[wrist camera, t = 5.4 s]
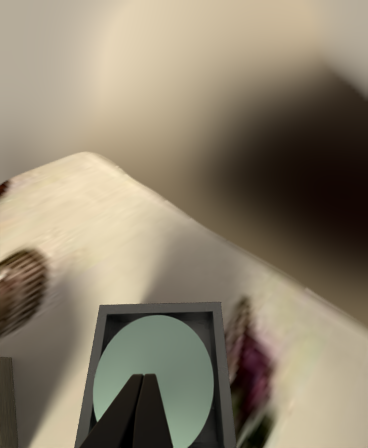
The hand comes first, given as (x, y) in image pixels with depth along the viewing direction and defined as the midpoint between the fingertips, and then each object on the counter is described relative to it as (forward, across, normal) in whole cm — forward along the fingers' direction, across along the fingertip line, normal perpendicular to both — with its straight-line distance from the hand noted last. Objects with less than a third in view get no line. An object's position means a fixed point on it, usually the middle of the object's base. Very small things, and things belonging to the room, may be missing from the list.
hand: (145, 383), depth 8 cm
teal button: (+3, 0, +3) cm, 5 cm away
